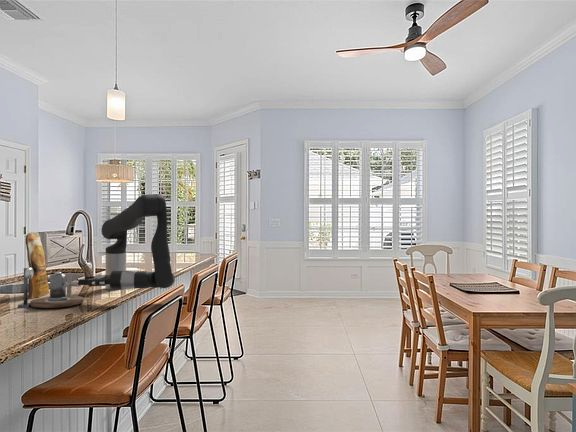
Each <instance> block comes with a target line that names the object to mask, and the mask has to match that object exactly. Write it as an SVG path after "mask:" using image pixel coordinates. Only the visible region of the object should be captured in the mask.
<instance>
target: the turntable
mask: <svg viewBox="0 0 576 432" xmlns="http://www.w3.org/2000/svg"><path fill="white" fill-rule="evenodd" d="M48 297H49V296H45V297H38V298H33V299H32V300H30V301H29V303H30V306H31V308H38V309H58V308H65V307H66V308H67V307H72V306H76V305H80V304H82V303H84V299H85V298H84V297H83V296H80V295H71V296H68V300H64V301H54V302H53V301H48Z"/></svg>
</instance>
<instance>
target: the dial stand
mask: <svg viewBox="0 0 576 432" xmlns="http://www.w3.org/2000/svg"><path fill="white" fill-rule="evenodd" d="M32 277H33V268H29V267H24V268H23V302H21V303H19V304H17V309H23V308H24V309H25V308H28V309H29V308H32V306H30V302H28V301H29V300H28V299H29V298H28V282H29V279H32Z"/></svg>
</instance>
